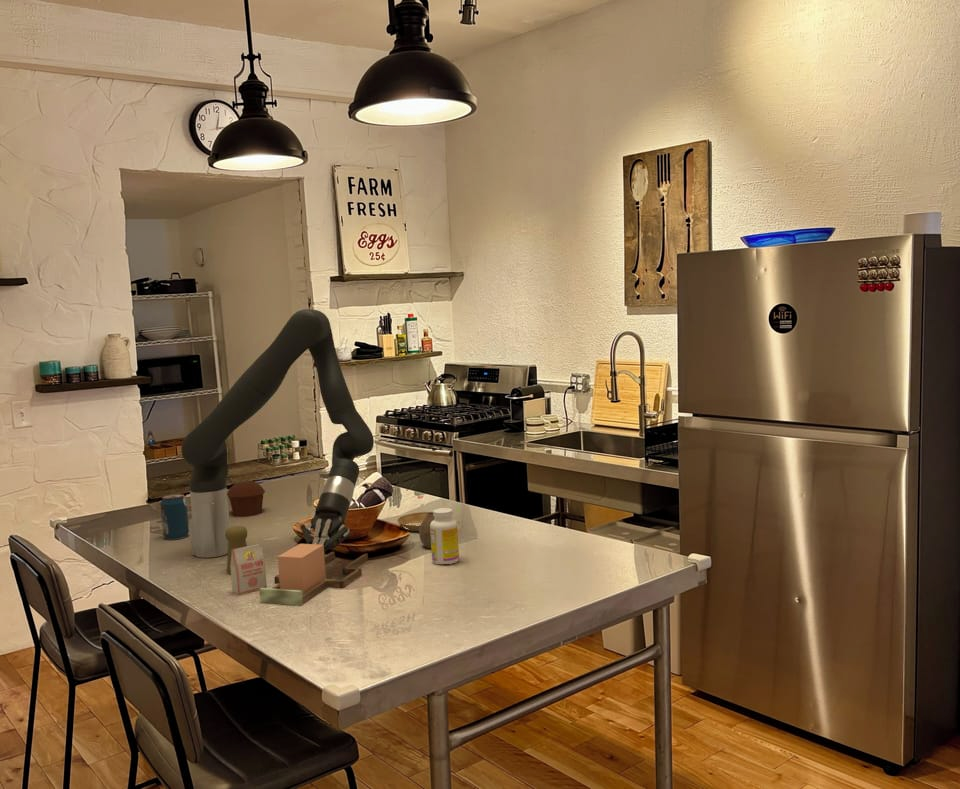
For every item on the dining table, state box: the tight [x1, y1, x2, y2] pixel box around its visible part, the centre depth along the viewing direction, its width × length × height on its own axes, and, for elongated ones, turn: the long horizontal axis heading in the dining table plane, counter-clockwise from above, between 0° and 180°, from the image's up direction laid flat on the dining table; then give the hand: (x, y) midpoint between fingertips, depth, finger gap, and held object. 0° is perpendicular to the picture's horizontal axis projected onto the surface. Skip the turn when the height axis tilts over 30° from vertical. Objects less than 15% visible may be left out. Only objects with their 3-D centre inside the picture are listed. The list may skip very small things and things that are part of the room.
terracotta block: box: [277, 543, 327, 595], centre depth 195 cm, size 6×10×9 cm, turn 162°
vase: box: [418, 511, 434, 549], centre depth 225 cm, size 7×7×9 cm
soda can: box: [160, 493, 190, 541], centre depth 246 cm, size 7×7×12 cm
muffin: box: [227, 480, 266, 518], centre depth 271 cm, size 12×11×10 cm
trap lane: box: [258, 551, 369, 606], centre depth 202 cm, size 18×33×3 cm, turn 162°
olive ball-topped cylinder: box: [225, 525, 248, 575], centre depth 211 cm, size 6×6×11 cm
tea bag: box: [230, 543, 268, 596], centre depth 197 cm, size 4×7×10 cm, turn 126°
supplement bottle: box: [430, 507, 460, 565], centre depth 211 cm, size 7×7×13 cm
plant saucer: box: [396, 511, 431, 532], centre depth 246 cm, size 15×15×3 cm
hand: (314, 563), depth 201 cm, fingers closed
